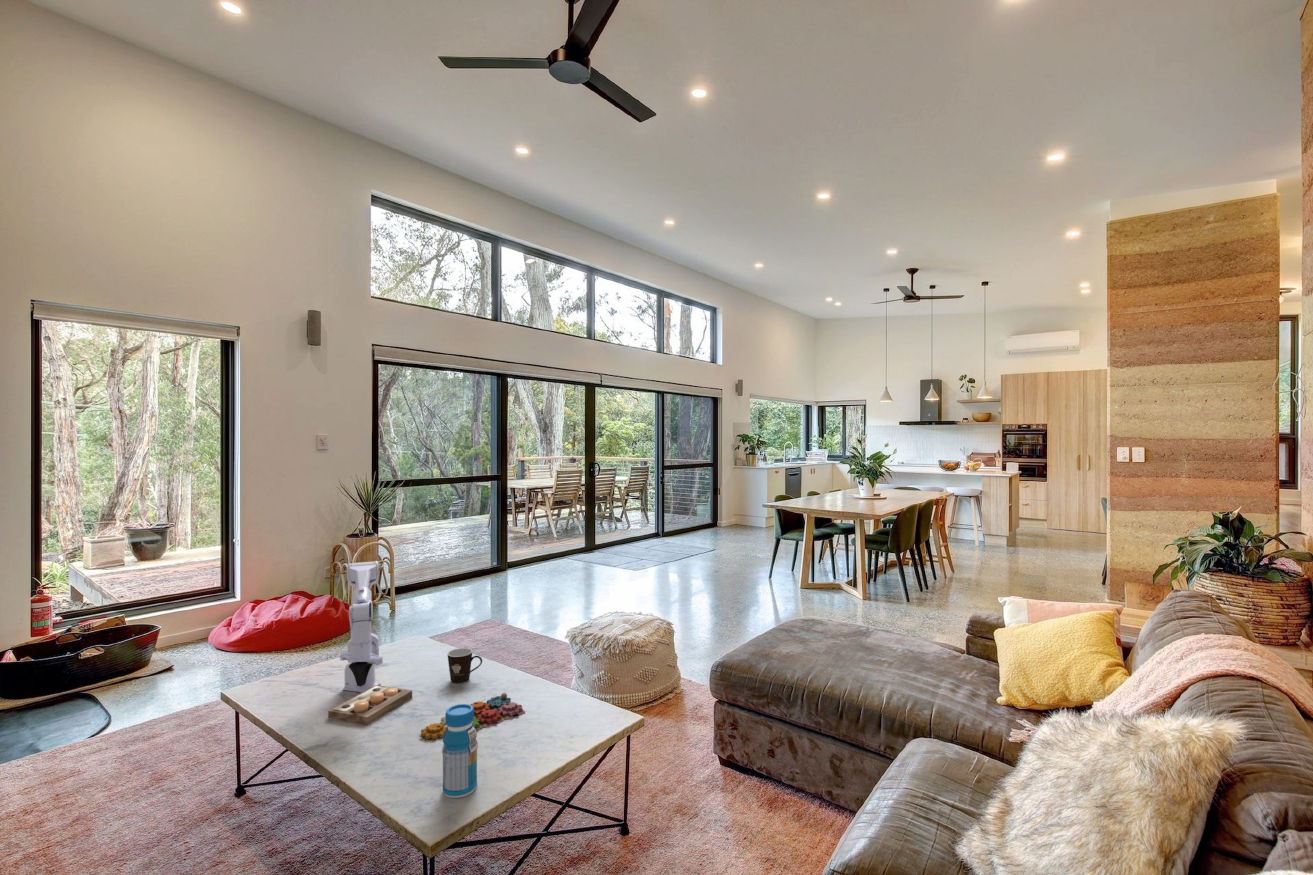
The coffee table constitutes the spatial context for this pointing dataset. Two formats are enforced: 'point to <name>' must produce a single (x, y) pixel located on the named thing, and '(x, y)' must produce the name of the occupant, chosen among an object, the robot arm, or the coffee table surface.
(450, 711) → the beverage bottle
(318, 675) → the coffee table surface
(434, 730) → the gear puzzle
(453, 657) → the coffee mug
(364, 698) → the button board
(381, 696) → the button
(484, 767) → the coffee table surface
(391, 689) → the button
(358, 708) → the button
